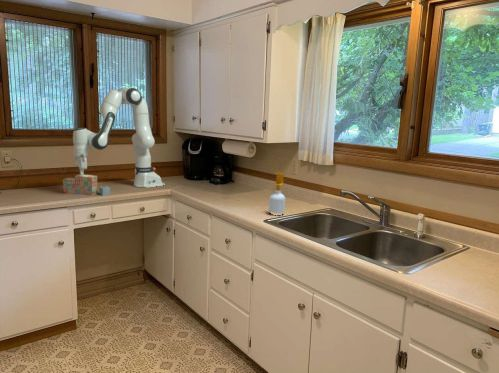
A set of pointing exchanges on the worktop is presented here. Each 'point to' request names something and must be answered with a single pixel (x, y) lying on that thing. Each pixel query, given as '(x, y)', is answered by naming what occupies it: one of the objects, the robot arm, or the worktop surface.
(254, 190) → the worktop surface
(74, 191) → the stack of blocks
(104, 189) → the slate cube
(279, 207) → the soap bottle
